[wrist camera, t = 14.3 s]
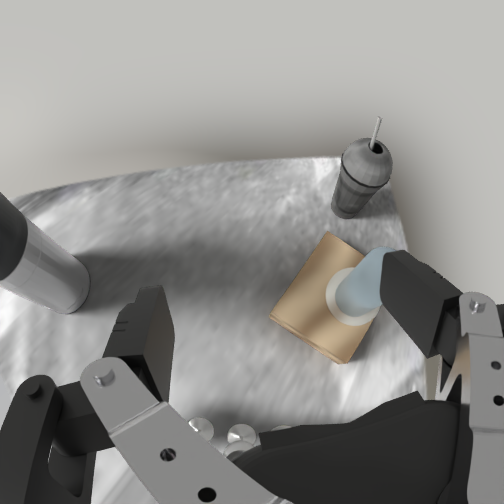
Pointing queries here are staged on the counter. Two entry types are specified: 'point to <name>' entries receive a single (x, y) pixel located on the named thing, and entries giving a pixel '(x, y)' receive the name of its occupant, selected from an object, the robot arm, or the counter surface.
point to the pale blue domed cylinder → (362, 285)
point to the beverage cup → (361, 174)
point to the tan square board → (323, 302)
